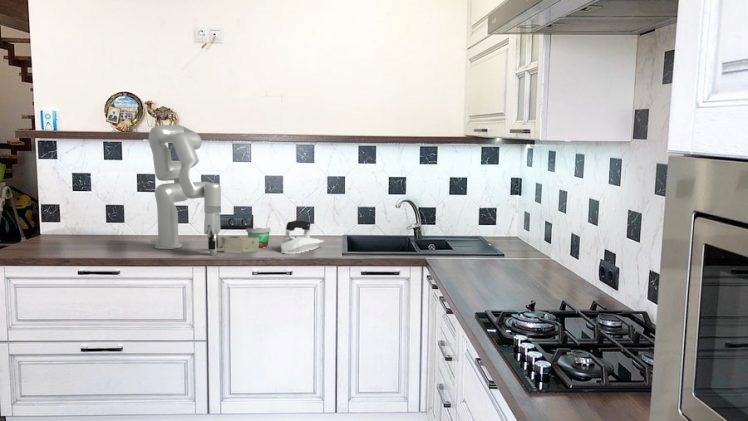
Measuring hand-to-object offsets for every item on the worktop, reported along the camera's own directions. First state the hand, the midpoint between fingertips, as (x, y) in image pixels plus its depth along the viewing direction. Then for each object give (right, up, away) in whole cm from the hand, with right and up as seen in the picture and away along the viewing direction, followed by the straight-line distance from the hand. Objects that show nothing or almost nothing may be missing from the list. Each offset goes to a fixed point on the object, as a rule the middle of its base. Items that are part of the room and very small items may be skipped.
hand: (213, 248), depth 304 cm
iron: (+39, -2, +16) cm, 42 cm away
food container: (+18, -1, +21) cm, 27 cm away
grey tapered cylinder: (0, -3, 0) cm, 3 cm away
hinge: (+8, -2, +10) cm, 13 cm away
